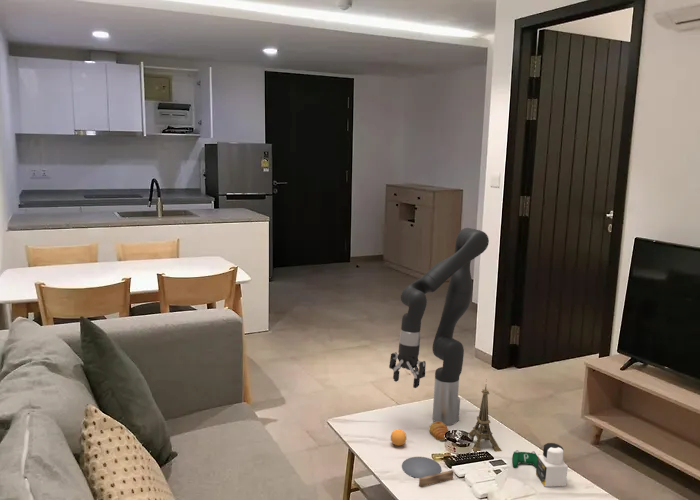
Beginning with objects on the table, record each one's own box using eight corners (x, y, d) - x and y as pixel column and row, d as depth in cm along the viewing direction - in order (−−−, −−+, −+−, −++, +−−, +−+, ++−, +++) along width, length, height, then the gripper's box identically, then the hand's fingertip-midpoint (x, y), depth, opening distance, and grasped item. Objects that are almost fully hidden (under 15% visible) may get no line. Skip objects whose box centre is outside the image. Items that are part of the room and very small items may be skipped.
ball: (401, 439, 214) (401, 425, 213) (409, 446, 209) (409, 432, 208) (387, 442, 211) (388, 427, 210) (395, 450, 206) (395, 435, 205)
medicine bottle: (535, 474, 193) (538, 440, 191) (556, 473, 194) (559, 440, 192) (544, 487, 186) (547, 452, 184) (566, 486, 187) (569, 451, 185)
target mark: (427, 454, 204) (428, 453, 204) (449, 473, 192) (449, 473, 192) (394, 461, 199) (394, 461, 199) (414, 482, 187) (414, 481, 187)
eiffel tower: (501, 451, 208) (507, 384, 203) (473, 453, 205) (478, 386, 201) (489, 436, 218) (493, 372, 213) (462, 438, 216) (466, 374, 211)
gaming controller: (539, 471, 199) (537, 453, 202) (541, 468, 195) (539, 450, 199) (511, 469, 199) (510, 451, 203) (513, 466, 196) (512, 448, 200)
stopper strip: (451, 477, 190) (451, 470, 190) (452, 478, 190) (453, 471, 189) (419, 485, 186) (419, 478, 185) (420, 487, 185) (421, 479, 184)
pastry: (452, 441, 213) (453, 432, 213) (434, 442, 213) (434, 433, 212) (445, 429, 223) (445, 419, 222) (427, 430, 222) (428, 420, 221)
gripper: (431, 344, 215) (427, 387, 218) (399, 335, 224) (395, 376, 226) (420, 348, 209) (416, 392, 212) (387, 339, 218) (384, 381, 220)
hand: (405, 384), depth 219 cm, fingers open, 8 cm apart
